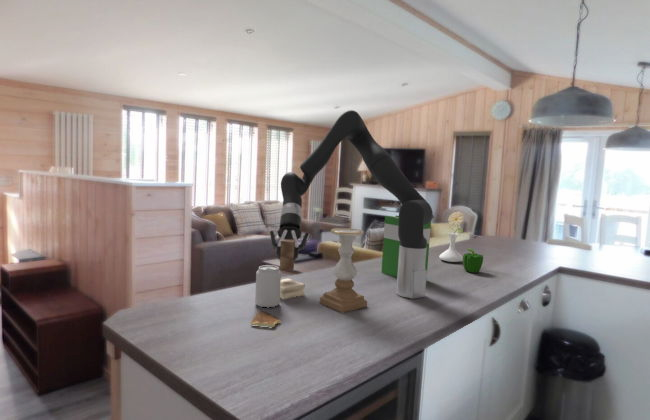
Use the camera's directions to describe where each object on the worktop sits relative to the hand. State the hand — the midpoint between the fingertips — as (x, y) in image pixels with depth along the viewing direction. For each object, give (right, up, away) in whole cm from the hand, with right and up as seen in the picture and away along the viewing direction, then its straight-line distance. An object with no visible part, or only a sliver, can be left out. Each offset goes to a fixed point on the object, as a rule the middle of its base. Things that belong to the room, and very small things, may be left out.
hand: (287, 258), depth 141 cm
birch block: (-1, -12, 0) cm, 12 cm away
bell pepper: (+78, -11, +45) cm, 91 cm away
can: (-5, -13, -12) cm, 19 cm away
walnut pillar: (0, -4, +2) cm, 5 cm away
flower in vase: (+75, -9, +64) cm, 99 cm away
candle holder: (+18, -14, -8) cm, 25 cm away
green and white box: (+45, -11, +31) cm, 56 cm away
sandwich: (-5, -15, -26) cm, 30 cm away
